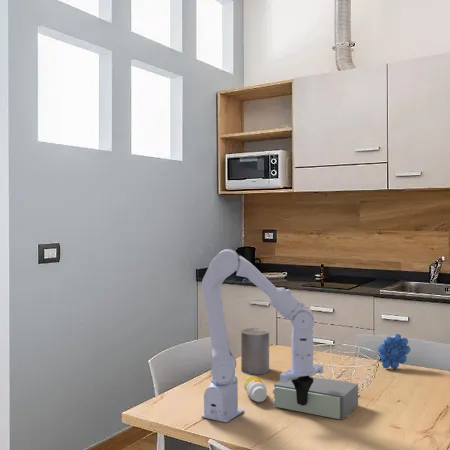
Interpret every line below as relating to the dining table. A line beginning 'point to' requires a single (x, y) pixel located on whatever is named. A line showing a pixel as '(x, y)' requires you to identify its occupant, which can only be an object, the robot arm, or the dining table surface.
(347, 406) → the cabinet
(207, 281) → the robot arm
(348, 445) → the dining table surface
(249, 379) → the supplement bottle
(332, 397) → the door
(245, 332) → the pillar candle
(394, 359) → the blue flower shape
